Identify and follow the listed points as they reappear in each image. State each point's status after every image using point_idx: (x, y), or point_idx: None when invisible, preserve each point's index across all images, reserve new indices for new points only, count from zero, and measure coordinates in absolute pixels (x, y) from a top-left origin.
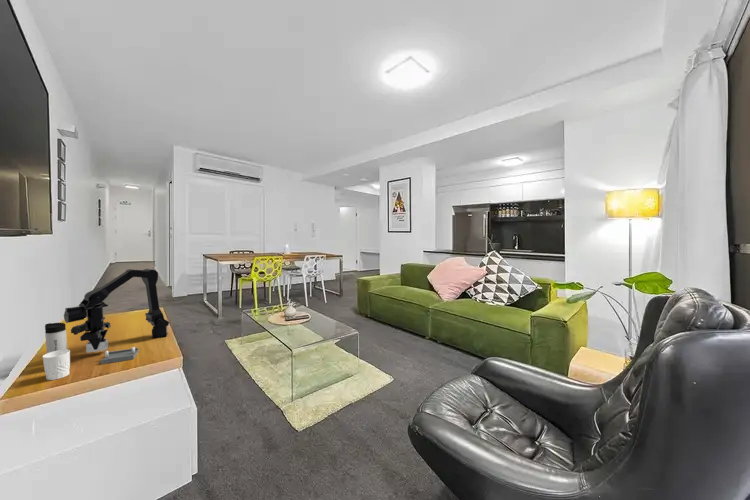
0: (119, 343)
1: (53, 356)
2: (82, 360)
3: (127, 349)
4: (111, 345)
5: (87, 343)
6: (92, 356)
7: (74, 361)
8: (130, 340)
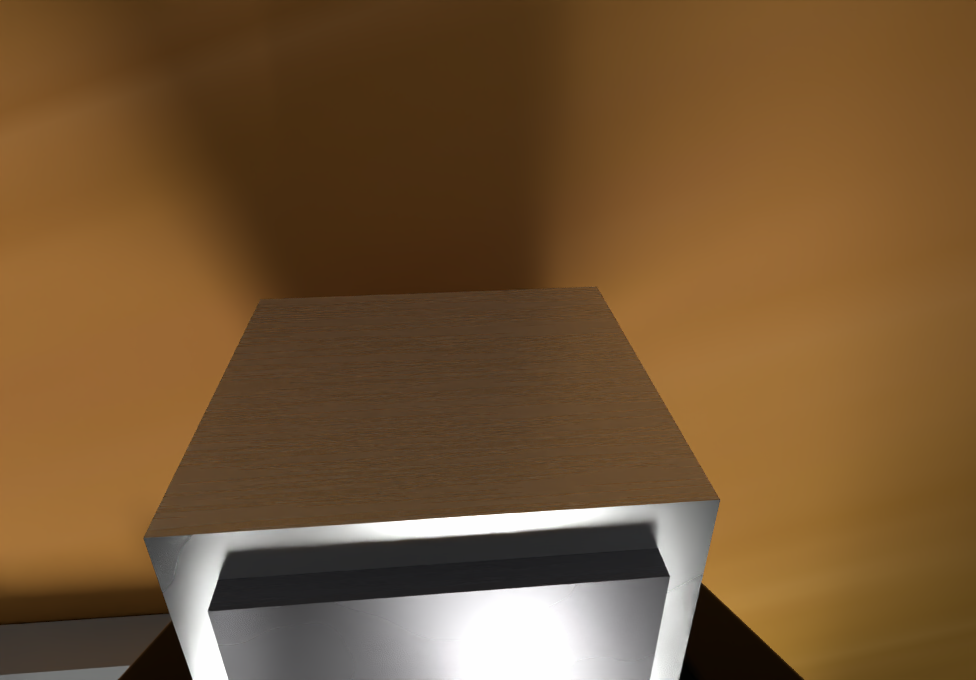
0: (930, 570)
1: None
2: (53, 216)
3: None
4: (910, 482)
5: (319, 548)
6: None
7: (5, 6)
8: (968, 667)
